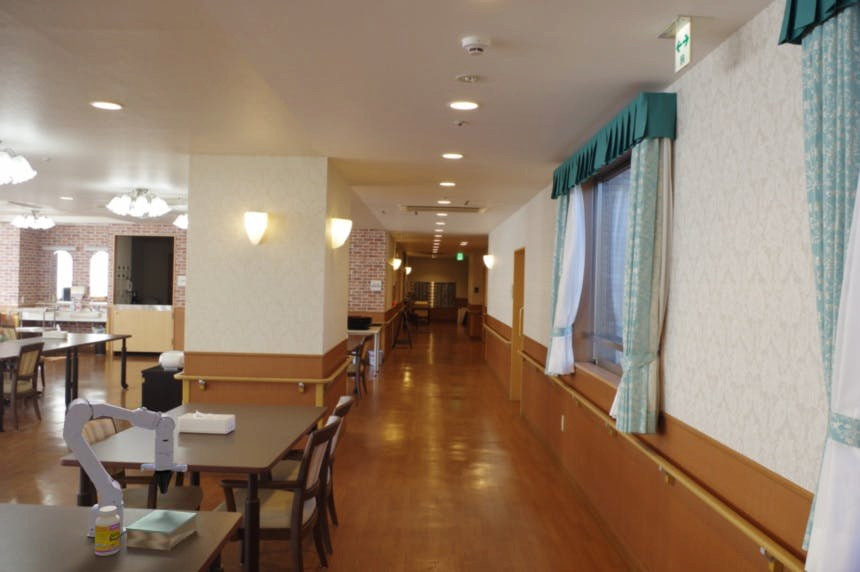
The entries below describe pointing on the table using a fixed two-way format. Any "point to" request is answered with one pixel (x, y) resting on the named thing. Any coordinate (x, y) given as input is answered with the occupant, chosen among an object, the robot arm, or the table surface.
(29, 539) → the table surface
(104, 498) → the robot arm
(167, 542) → the box
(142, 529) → the lid
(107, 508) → the supplement bottle
